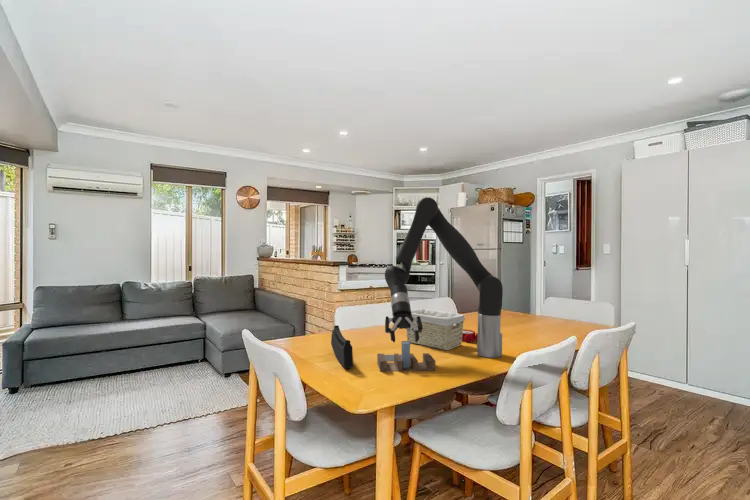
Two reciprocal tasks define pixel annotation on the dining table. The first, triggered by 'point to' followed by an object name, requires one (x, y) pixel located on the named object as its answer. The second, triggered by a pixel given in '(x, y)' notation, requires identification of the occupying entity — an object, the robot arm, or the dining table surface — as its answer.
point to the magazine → (342, 348)
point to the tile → (405, 354)
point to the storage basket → (438, 329)
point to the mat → (390, 357)
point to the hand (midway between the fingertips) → (405, 341)
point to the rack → (426, 365)
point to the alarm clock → (469, 336)
